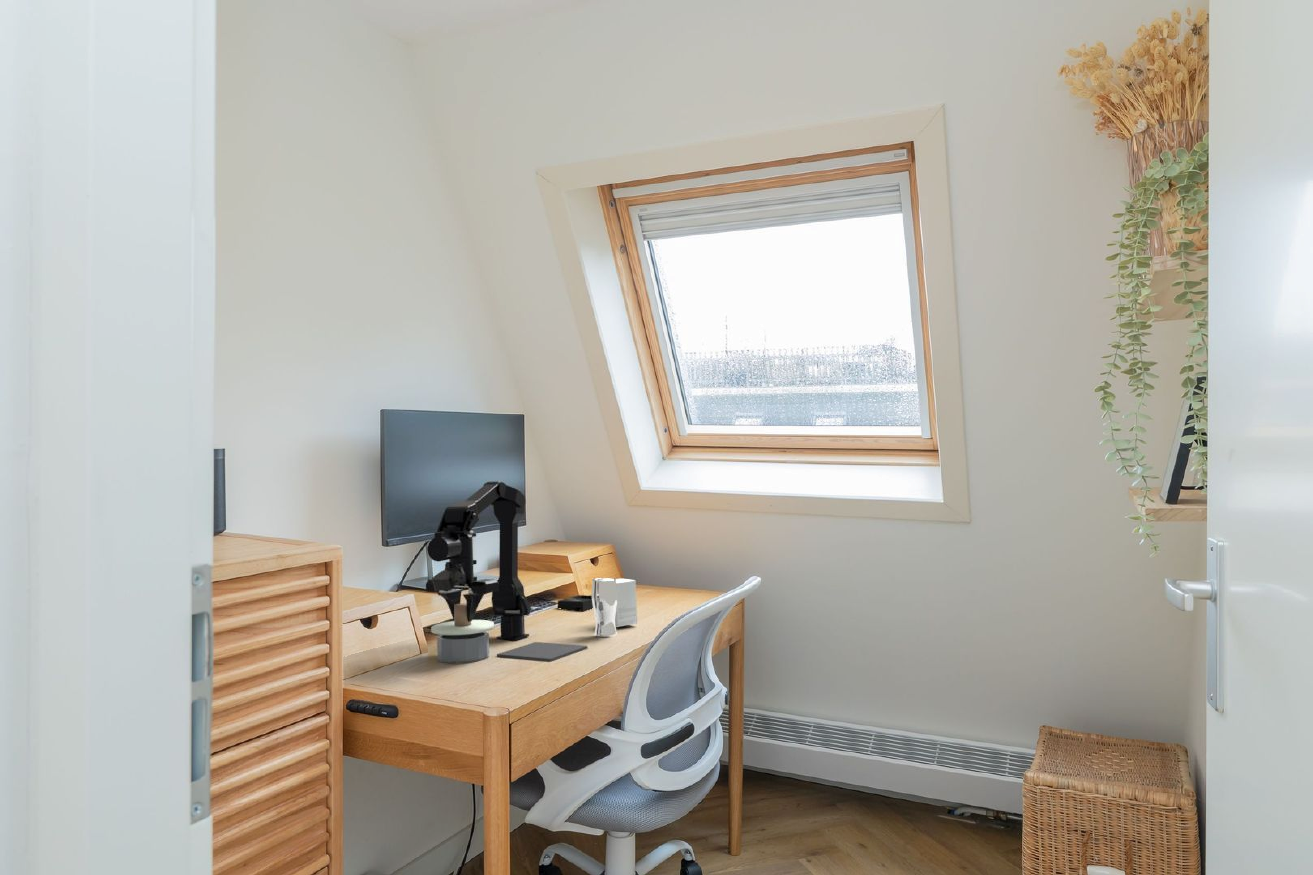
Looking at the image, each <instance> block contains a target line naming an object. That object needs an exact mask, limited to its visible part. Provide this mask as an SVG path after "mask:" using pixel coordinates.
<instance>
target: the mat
mask: <svg viewBox="0 0 1313 875" xmlns="http://www.w3.org/2000/svg"><path fill="white" fill-rule="evenodd" d="M587 649H588V645H581V644H580V645H579V644H564V643H555V642H554V643H553V642H543V641H542V642H539V641H534V642H531V643H527V644H526V645H525V644H524V645H522V646H518V647H515V648H512V649H509V650H505V651H503V652H499V653H496V658H497V657H499V658H505V659H506V658H507V659H508V658H509V659H521V660H530V661H533V660H534V661H542V662H545V661H546V662H553V661H557V660H558V659H562V658H564V657H567V656H570V655H573V654H576V653H578V652H581V651H583V650H587Z"/></svg>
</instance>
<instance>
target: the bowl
mask: <svg viewBox="0 0 1313 875" xmlns="http://www.w3.org/2000/svg"><path fill="white" fill-rule="evenodd" d="M436 645H437V646H436V649H437V651H436V652H437V659H438V661H439V662H441V663H445V664H468V663H473V662H474V663H475V662H481V661H484V660H486V659H488V658H489V655H490V634H489V632H488V631H486V632H481V633H475V634H466V635H438V636H437V637H436Z"/></svg>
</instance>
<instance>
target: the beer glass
mask: <svg viewBox="0 0 1313 875" xmlns="http://www.w3.org/2000/svg"><path fill="white" fill-rule="evenodd" d="M616 579H617V578H614V577H602V578H601V577H600V578H599V577H598V578H593V579H591V596H592V604H593V609H592V610H593V615H594V618H595V629H594V636H595V637H598V638H610V637H615V636H617V635H618V632H617V627H616V626H615V615H616V608H617V584H616Z"/></svg>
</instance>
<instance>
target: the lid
mask: <svg viewBox="0 0 1313 875" xmlns="http://www.w3.org/2000/svg"><path fill="white" fill-rule="evenodd" d="M430 628H431V633H432V634H435V635H438V636H439V635H466V634H475V633H481V632H489V631H492V630H493V629H495V622H494V621H492V620H488V619H487V620H485V619H472V621H470V622H468V619H467V603H464V602H463V603H462V602H461V603H460V604H455V605H454V619H453V620H452V621H445V622H440V623H436V624H433V625H432V626H431V627H430Z"/></svg>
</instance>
